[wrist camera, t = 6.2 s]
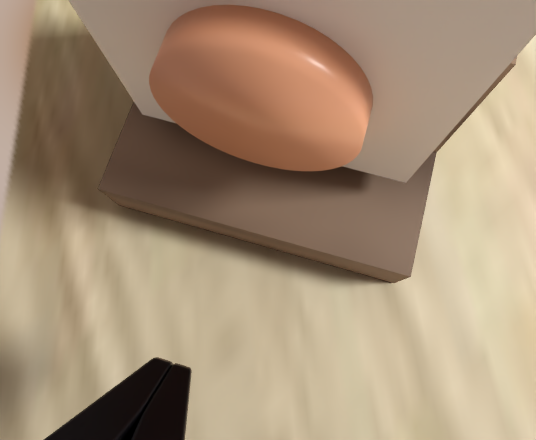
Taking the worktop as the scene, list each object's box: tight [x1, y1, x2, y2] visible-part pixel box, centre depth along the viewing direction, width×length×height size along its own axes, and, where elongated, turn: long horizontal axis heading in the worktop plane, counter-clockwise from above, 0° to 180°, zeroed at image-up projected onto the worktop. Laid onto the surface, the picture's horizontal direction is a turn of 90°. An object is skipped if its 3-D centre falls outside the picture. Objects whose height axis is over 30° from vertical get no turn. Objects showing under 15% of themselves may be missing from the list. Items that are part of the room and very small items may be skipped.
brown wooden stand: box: [98, 56, 517, 283], centre depth 13 cm, size 8×11×7 cm
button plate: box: [69, 0, 536, 183], centre depth 10 cm, size 2×9×8 cm, turn 73°
